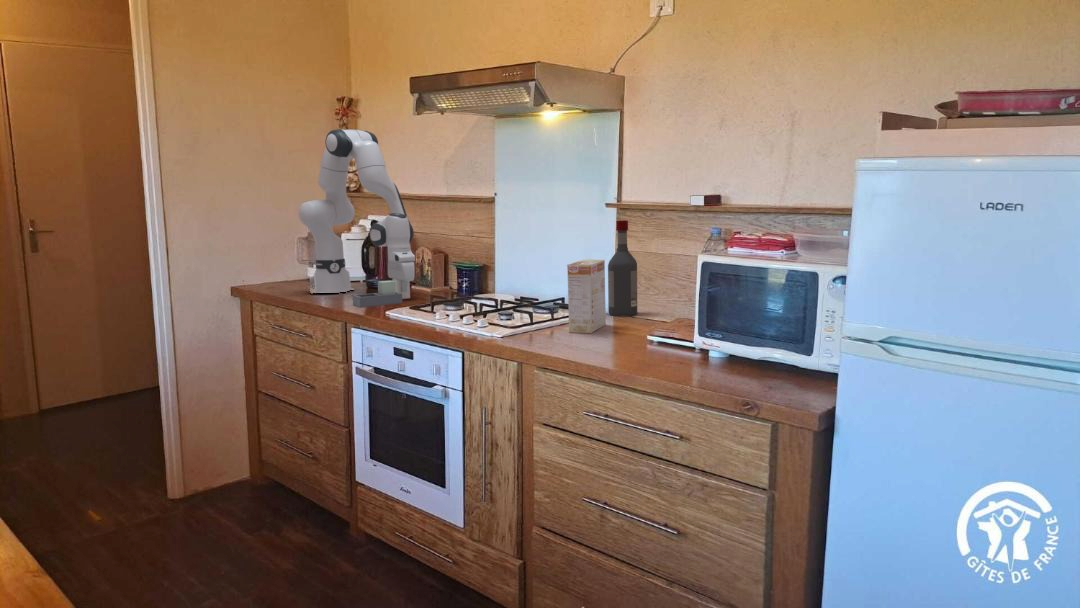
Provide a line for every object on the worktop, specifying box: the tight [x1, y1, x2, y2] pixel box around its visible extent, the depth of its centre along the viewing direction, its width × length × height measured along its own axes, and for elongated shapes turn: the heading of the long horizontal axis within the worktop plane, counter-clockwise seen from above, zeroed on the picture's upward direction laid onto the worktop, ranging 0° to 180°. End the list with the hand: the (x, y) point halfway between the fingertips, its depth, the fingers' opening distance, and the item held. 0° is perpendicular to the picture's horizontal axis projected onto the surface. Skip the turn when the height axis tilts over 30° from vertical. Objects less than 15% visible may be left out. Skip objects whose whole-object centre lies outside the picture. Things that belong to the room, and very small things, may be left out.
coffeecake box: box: [566, 258, 607, 334], centre depth 218 cm, size 15×7×20 cm, turn 159°
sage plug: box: [377, 280, 396, 295], centre depth 280 cm, size 5×5×8 cm
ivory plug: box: [391, 278, 411, 300], centre depth 293 cm, size 5×5×8 cm
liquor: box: [607, 220, 638, 317], centre depth 242 cm, size 9×9×30 cm
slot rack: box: [352, 292, 403, 308], centre depth 278 cm, size 8×16×4 cm, turn 121°
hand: (401, 291), depth 293 cm, fingers closed on ivory plug, 5 cm apart
